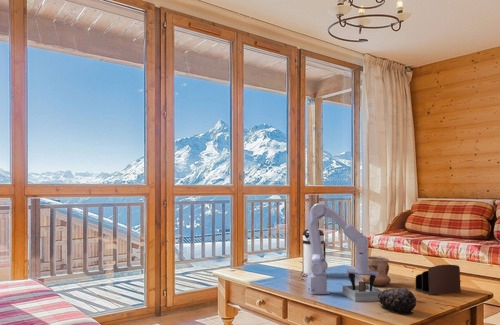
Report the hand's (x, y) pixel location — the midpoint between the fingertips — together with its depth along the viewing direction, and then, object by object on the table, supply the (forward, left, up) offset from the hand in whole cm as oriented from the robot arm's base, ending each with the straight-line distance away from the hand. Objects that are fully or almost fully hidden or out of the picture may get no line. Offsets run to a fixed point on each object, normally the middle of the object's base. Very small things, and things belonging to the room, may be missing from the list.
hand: (362, 290), depth 200 cm
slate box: (0, 0, -3) cm, 3 cm away
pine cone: (+4, -23, -3) cm, 23 cm away
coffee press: (-6, +50, -3) cm, 50 cm away
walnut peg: (0, 0, -3) cm, 3 cm away
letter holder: (+43, +4, -3) cm, 43 cm away
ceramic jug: (+20, +23, -3) cm, 31 cm away
